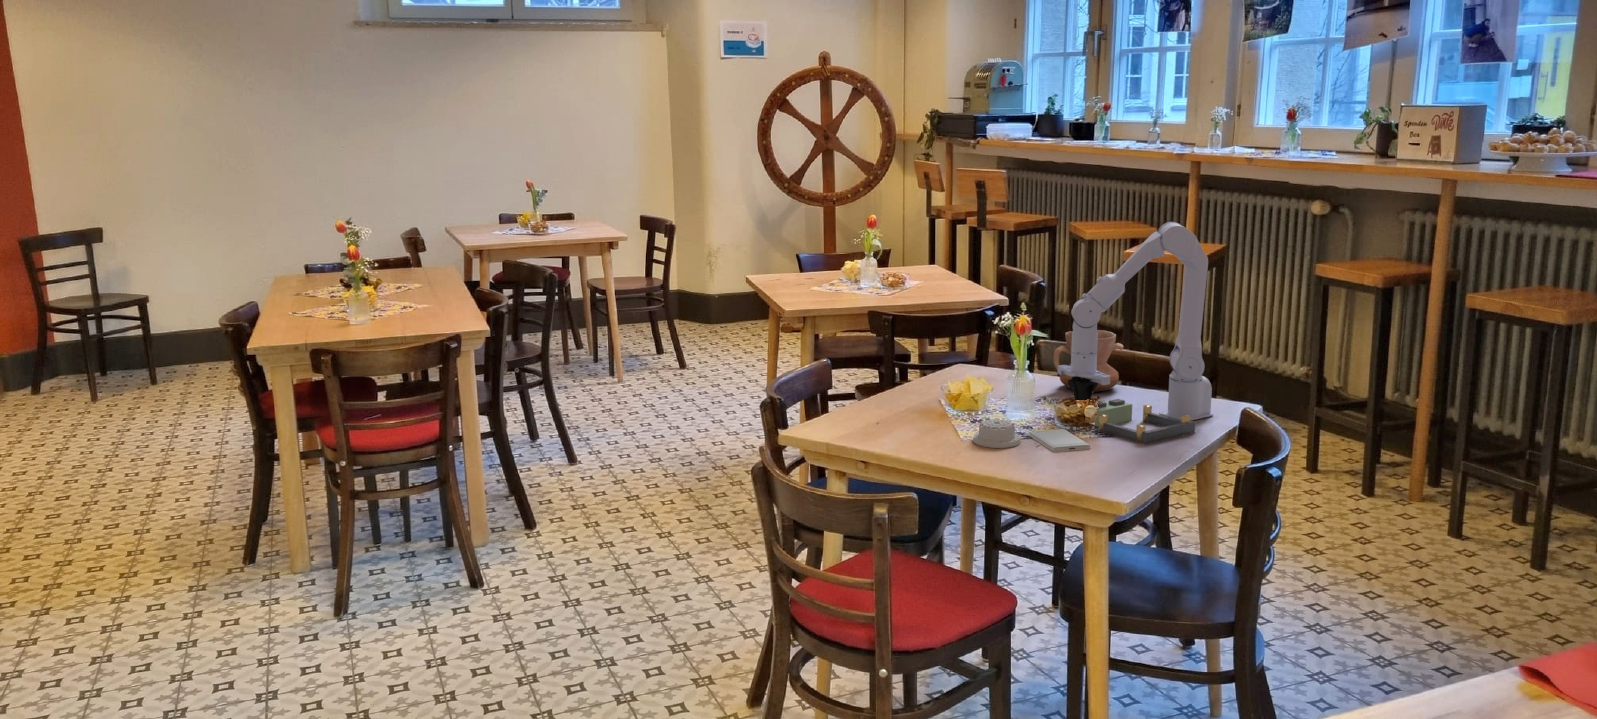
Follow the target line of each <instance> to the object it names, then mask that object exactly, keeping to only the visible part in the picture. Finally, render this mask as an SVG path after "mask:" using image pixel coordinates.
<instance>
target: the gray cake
mask: <svg viewBox="0 0 1597 719" xmlns="http://www.w3.org/2000/svg"><path fill="white" fill-rule="evenodd" d="M972 436H973V438H972V441H973V444H975V445H977V446H980V447H984V448H992V449H1006V448H1007V449H1008V448H1012V447H1013V448H1014V447H1017V446H1019V445H1020V444H1021V436H1020V434H1019V433H1016V424H1015V422H1012V421H1011V420H1008V419H1006V420H1005V419H997V418H993V419H985V420H982V421H980V423H978V432H975V433H974V434H973V435H972Z"/></svg>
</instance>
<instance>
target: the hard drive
mask: <svg viewBox="0 0 1597 719" xmlns="http://www.w3.org/2000/svg"><path fill="white" fill-rule="evenodd" d="M1029 437H1030V438H1031V439H1033V440H1035V441H1036V442H1038V443H1039V444H1041V445H1043V446H1044V447H1046V448H1047V449H1049V450H1050V451H1052V452H1053V453H1056V452H1069V451H1071V452H1072V451H1082V450H1083V451H1084V450H1090V449H1091V445H1090V444H1089V443H1087V442H1085V441H1084V440H1082V439H1081V438H1079V437H1077V436H1076V435H1074V434H1072V433H1071V432H1069V431H1068V430H1066V429H1064V428H1058V429H1057V428H1056V429H1047V430H1046V429H1045V430H1035V431H1034V430H1032V431H1030V432H1029Z"/></svg>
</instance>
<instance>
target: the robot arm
mask: <svg viewBox="0 0 1597 719" xmlns="http://www.w3.org/2000/svg"><path fill="white" fill-rule="evenodd" d="M1165 251H1166V252H1167V253H1169V254H1171V255H1173V256H1174V257H1176V258H1177V259H1178V261H1179V262H1181V263H1182V264H1183V265H1184V271H1183V280H1182V290H1181V292H1182V293H1181V300H1180V302H1181V303H1180V312H1179V322H1178V332H1177V333H1178V334H1177V336H1176V338H1175V344H1174V348H1173V350H1171V352H1170V354H1169V363H1170V366H1171V368H1172V371H1171V373H1169V375H1168V376H1169V378H1168V398H1167V400H1168V401H1167V410H1165V411H1161V412H1158V415H1162V416H1166V417H1170V418H1174V419H1177V420H1181V416H1182V415H1189V416H1190V421H1195V420H1199V419H1204V418H1209V417H1213V416H1214V413H1213V412H1211V411H1212V410H1211V408H1212V390H1213V388H1212V387H1213V386H1212V384H1211V382H1210V380H1209V379H1208V378H1207V377H1206V376H1203V374H1204V371H1205V367H1206V366H1205V361H1204V359H1203V354H1202V353H1203V352H1202V351H1203V348H1202V347H1203V346H1202V341H1201V340H1202V339H1201V338H1202V337H1201V336H1202V328H1203V327H1202V326H1203V319H1204V316H1203V315H1204V308H1205V307H1204V306H1205V297H1206V289H1207V288H1206V287H1207V279H1208V278H1207V277H1208V269H1209V257H1208V255H1207V254H1206V252H1205V250H1204V249H1203V246H1202V245H1201V243H1200V241H1199V240H1198V238H1197V236H1196V235H1195V234H1194V233H1193V232H1192V231H1190V230H1189V229H1188V228H1187V227H1185V226H1183V225H1181V224H1180V223H1178V222H1175V221H1169V222H1165V223H1164V224H1162V225H1160V227H1159V228H1158V230H1157V231H1154V232H1153V233H1151V234H1150V236H1148V237H1147V238H1146V239H1145V240H1144V242H1142V243H1141V245H1139V247H1138V248H1137V249H1136V250H1135V251H1134V252H1133V253H1132V254H1131V255H1130V256H1129V258H1127V260H1126V261H1125V262H1123V264H1122V265H1121V266H1120V267H1119V268H1118V269H1117V270H1116V272H1114V273H1110V274H1109V273H1108V274H1107V273H1106V274H1105V275H1104V276H1103V277H1102V276H1098V278H1097V279H1096V281H1097V283H1096V284H1095V285H1094V286H1093V287H1092V288H1091V289H1090V290H1089V291H1088V292H1086V293H1085V292H1084V293H1083V294H1082V295H1081V297H1082V299H1078V300H1077V301H1076V302H1075V303H1074V304H1073V307H1072V308H1071V310H1070V311H1071V312H1070V313H1071V316H1072V319H1073V321H1072V322H1073V323H1072V331H1073V332H1072V349H1071V351H1072V352H1071V355H1070V357H1071V358H1070V364H1071V366H1068V365H1067V364H1062V365H1061V364H1060V366H1058V371H1057V374H1058V375H1059V374H1064V375H1068V376H1072V378H1071V379H1070V380H1068V384H1069V386H1070V387H1069V389H1070V390H1071V392H1072V395H1073V398H1074V401H1075V400H1087V399H1090V400H1091V398H1092V395H1093V394H1094V393H1095V392H1094V390H1095V388H1096V387H1097V385H1098V384H1099V383H1101V385H1108V384H1110V376H1109V375H1106V374H1103V373H1101V372H1099V371H1097V370H1096V368H1097V340H1098V333H1097V330H1098V323H1099V321H1100V320H1101V315H1102V313H1104V312H1106V311H1107V310H1108V309H1109V308H1110V307H1111V306H1112V305H1113V304H1114V303H1115V302H1116V301H1117V300H1118V299H1119V298H1120V297H1121V296H1122V295H1123V294H1125V291H1126V288H1125V286H1126V283H1127V282H1129V280H1131V279H1132V278H1133V277H1134V276H1135V275H1136V274H1137V273H1138V272H1139V271H1140V270H1141V269H1143V267H1145V265H1146V264H1148V263H1149V262H1150V261H1151V260H1153V259H1158V258H1162V257H1166V253H1165ZM1212 415H1213V416H1212Z"/></svg>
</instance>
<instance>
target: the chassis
mask: <svg viewBox="0 0 1597 719" xmlns="http://www.w3.org/2000/svg"><path fill="white" fill-rule="evenodd" d="M1142 407H1143V408H1142V409H1143V410H1142V422H1144V423H1150V424H1153V425H1157V426H1161V427H1157V428H1154V429H1149V430H1146V429H1147V428H1146V427H1147V426H1146V425H1145V424H1137V425H1136V429H1132V428H1129V427H1125V426H1121V425H1120V424H1112V423H1108V422H1107V420H1108V415H1105V414H1101V415H1099V427H1098V432H1100V433H1101V432H1102V433H1105V434H1109V435H1112V436H1116V437H1118V438H1122V439H1125V440H1130V441H1133V442H1136V443H1138V444H1142V445H1145V446H1146V445H1151V444H1154V443H1159V442H1163V441H1166V440H1171V439H1176V438H1180V437H1184V436H1188V435H1192V434H1195V432H1196V421H1195V420H1192V421H1190V416H1189V415H1182V416H1181V420H1178V419H1174V418H1170V417H1167V416H1163V415H1159V413H1153V412H1152V411H1153V410H1152V405H1150V404H1144V405H1143V406H1142Z"/></svg>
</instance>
